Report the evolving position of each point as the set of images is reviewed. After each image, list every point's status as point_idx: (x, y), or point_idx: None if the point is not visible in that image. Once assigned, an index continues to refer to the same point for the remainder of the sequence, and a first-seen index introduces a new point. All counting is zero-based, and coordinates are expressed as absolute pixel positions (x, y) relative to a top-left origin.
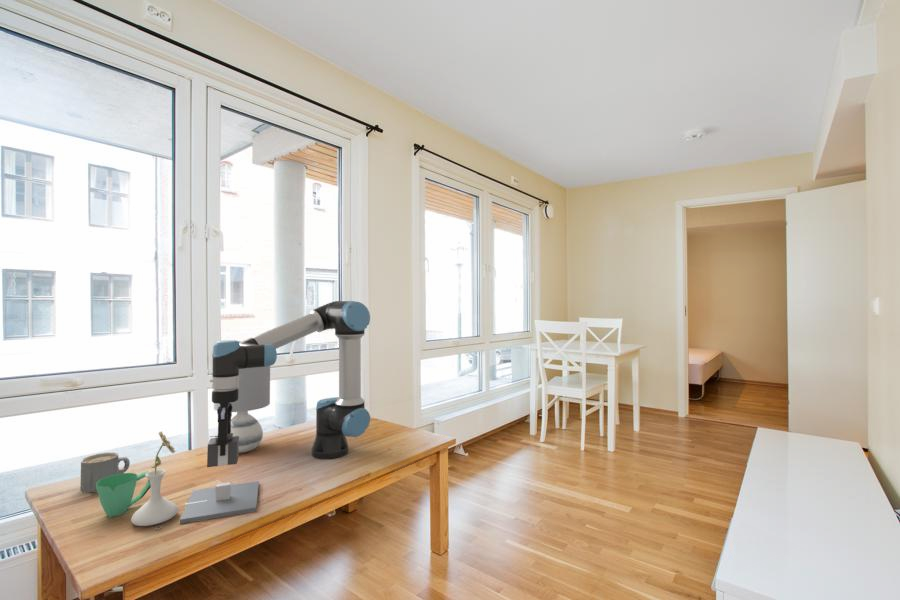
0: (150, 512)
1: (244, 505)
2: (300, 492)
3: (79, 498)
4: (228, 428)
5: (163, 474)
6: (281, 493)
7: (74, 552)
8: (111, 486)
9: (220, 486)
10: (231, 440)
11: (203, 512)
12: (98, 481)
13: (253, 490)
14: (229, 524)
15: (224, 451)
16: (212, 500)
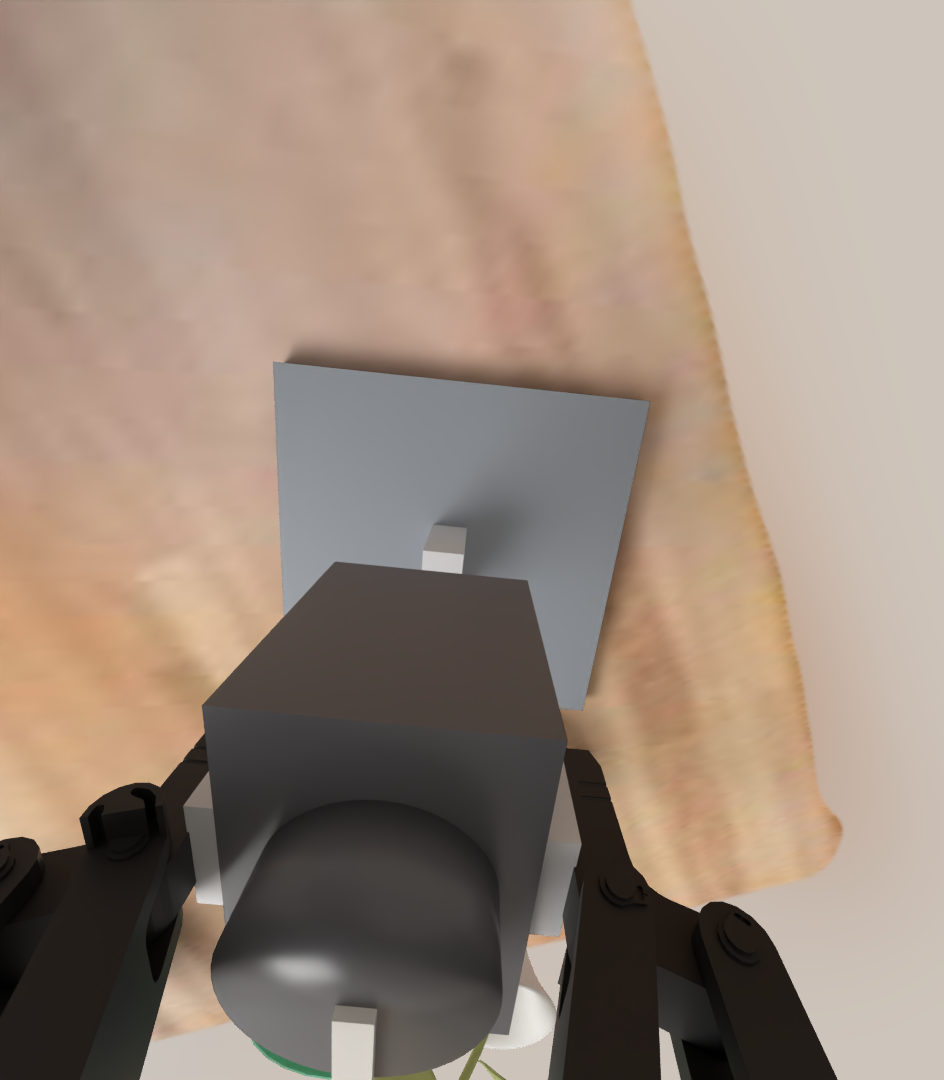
0: None
1: (590, 460)
2: (525, 80)
3: (198, 961)
4: (98, 1050)
5: (525, 978)
6: (478, 227)
7: None
8: None
9: None
10: (439, 811)
11: (563, 634)
12: (320, 1076)
13: (409, 402)
14: (707, 526)
15: (610, 800)
16: None
